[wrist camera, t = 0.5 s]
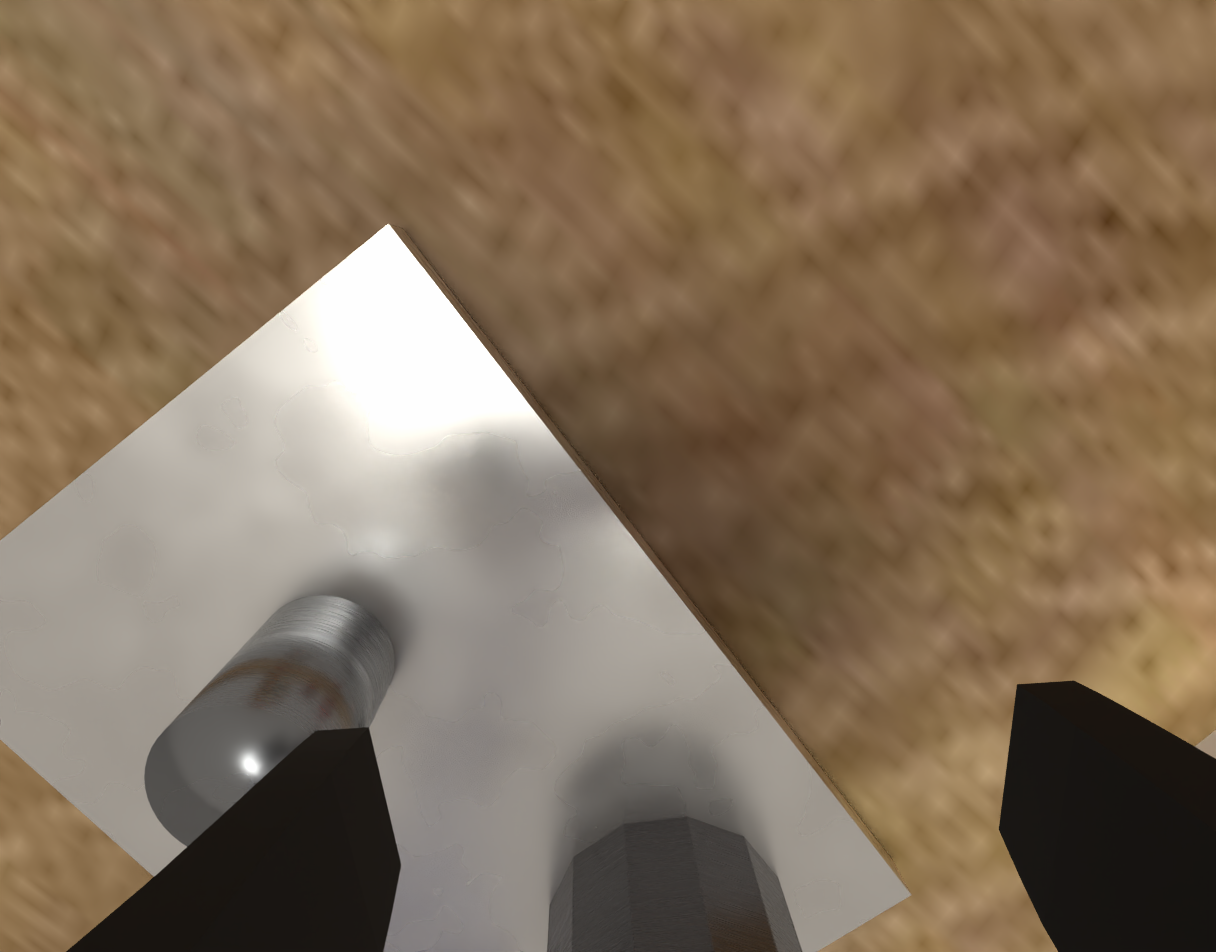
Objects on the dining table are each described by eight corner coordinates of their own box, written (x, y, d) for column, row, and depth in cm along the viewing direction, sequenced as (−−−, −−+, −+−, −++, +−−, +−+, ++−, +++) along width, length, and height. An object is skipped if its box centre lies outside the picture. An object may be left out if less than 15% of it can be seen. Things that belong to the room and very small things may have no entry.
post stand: (476, 1114, 23) (441, 1387, 17) (-72, 612, 18) (-365, 761, 12) (893, 860, 21) (1007, 1073, 15) (402, 228, 16) (306, 198, 11)
